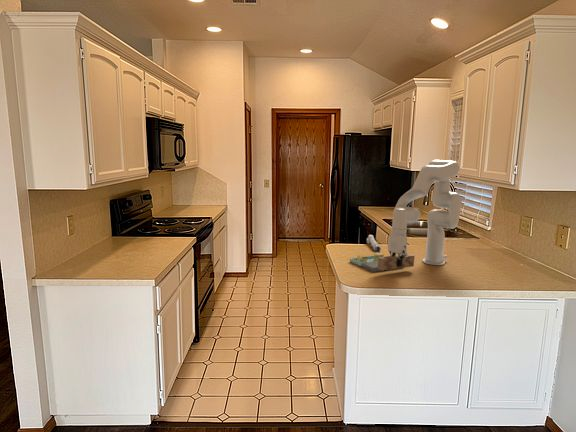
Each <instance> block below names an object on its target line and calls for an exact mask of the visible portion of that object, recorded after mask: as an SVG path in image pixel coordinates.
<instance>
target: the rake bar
mask: <svg viewBox="0 0 576 432" xmlns="http://www.w3.org/2000/svg"><path fill="white" fill-rule="evenodd" d="M407 254H408V255H407V256H406V257H404V259H403V260H402V266H399V267H398V266H397V259H398V254H396V255H395V256H390V255H388V256H384V257H378V267H377V269H380V270H382V271H381V272H383V270H385V271H390V270H397V269H403V268H413V267H414V266H415V255H414V254H411V253H407ZM400 256H401V255H400Z"/></svg>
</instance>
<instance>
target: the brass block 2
mask: <svg viewBox="0 0 576 432" xmlns="http://www.w3.org/2000/svg"><path fill="white" fill-rule="evenodd" d="M373 255H374V260H375V261H378V257H385V256H384V255H385V254H384V253H381V252H375V253H373Z"/></svg>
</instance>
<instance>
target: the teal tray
mask: <svg viewBox="0 0 576 432" xmlns="http://www.w3.org/2000/svg"><path fill="white" fill-rule="evenodd" d="M366 256H367V262H372V261H375V260H374V254H373V255H366ZM349 263H351V264H353V265H355V266H358V267H360V268H362V263H361V262H358V261H357V257H352V258H349Z"/></svg>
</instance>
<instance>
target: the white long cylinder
mask: <svg viewBox="0 0 576 432" xmlns="http://www.w3.org/2000/svg"><path fill="white" fill-rule="evenodd" d="M366 244H367V245H371V247H372V249H373V251H375V253H380V251H381V245H380V244H379V243H378V242H377V241H376V240H375V237H374V235H373V234H369V235H368V236H367V238H366Z"/></svg>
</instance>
